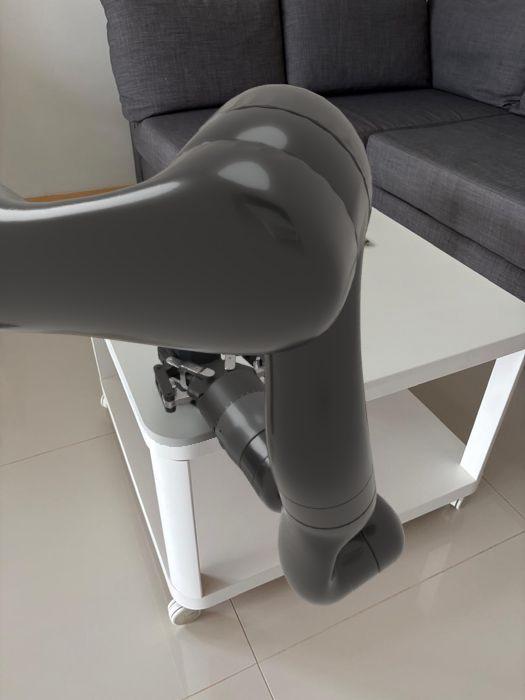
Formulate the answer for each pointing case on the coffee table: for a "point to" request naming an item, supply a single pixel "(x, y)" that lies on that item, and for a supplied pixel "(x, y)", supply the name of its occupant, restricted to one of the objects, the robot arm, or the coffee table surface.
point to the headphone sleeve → (194, 359)
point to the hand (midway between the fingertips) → (188, 339)
